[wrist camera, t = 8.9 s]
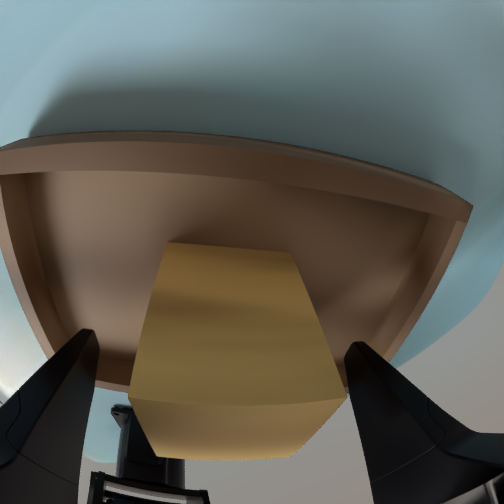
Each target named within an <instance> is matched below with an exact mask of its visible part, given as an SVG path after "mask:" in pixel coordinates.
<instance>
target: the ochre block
mask: <svg viewBox="0 0 504 504" xmlns="http://www.w3.org/2000/svg"><path fill="white" fill-rule="evenodd" d="M346 398H347V394H346V392H345V389H344V386H343V383H342V381H341V378H340V375H339V372H338V370H337V367H336V364H335V362H334V359H333V356H332V354H331V351H330V348H329V346H328V343H327V341H326V338H325V335H324V333H323V330H322V328H321V325H320V323H319V320H318V317H317V315H316V312H315V310H314V307H313V305H312V302H311V300H310V297H309V295H308V293H307V290H306V288H305V285H304V283H303V280H302V278H301V275H300V273H299V271H298V268H297V266H296V264H295V261H294V259H293V256H292V254H291V253H290V252H278V251H267V250H255V249H243V248H232V247H220V246H208V245H196V244H184V243H172V242H167V244H166V247H165V250H164V253H163V257H162V260H161V263H160V266H159V270H158V273H157V276H156V280H155V283H154V287H153V290H152V294H151V297H150V301H149V305H148V308H147V312H146V316H145V320H144V324H143V328H142V332H141V336H140V340H139V344H138V349H137V353H136V358H135V363H134V367H133V372H132V377H131V382H130V387H129V393H128V399H129V401H130V403H131V405H132V408H133V410H134V412H135V414H136V417H137V419H138V421H139V423H140V425H141V427H142V429H143V431H144V433H145V435H146V437H147V439H148V441H149V443H150V445H151V447H152V448H153V450H154V452H155V454H156V456H159V457H168V458H178V459H192V460H256V459H270V458H281V457H289V456H292V455H293V454H294V453H296V452H297V451H298V450H299V449H300V448H301V447H302V445H304V444H305V443H306V442H307V441H308V440H309V439H310V438H311V437H312V436H313V435H314V434H315V433H316V432H317V431H318V430H319V429H320V428H321V427H322V425H323V424H324V423H325V422H326V421H327V420H328V419H329V418H330V417H331V416H332V415H333V413H334V412H335V411H336V410H337V409H338V408H339V407H340V405H341V404H342V403H343V402H344V401H345V400H346Z"/></svg>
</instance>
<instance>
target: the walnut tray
mask: <svg viewBox="0 0 504 504" xmlns="http://www.w3.org/2000/svg"><path fill="white" fill-rule="evenodd" d="M472 209H473V205H471V204H470V203H468V202H467V201H465V200H464V199H462V198H460V197H459V196H457V195H456V194H454V193H452V192H451V191H449V190H447V189H446V188H444V187H442V186H440V185H438V184H436V183H433V182H430V181H427V180H424V179H422V178H419V177H416V176H413V175H410V174H406V173H403V172H400V171H397V170H394V169H390V168H387V167H384V166H380V165H377V164H373V163H369V162H366V161H362V160H358V159H354V158H350V157H346V156H342V155H338V154H333V153H329V152H324V151H320V150H315V149H310V148H305V147H300V146H294V145H288V144H283V143H277V142H270V141H264V140H257V139H249V138H242V137H233V136H224V135H214V134H202V133H189V132H170V131H97V132H80V133H67V134H56V135H47V136H39V137H32V138H25V139H20V140H18V141H15V142H12V143H10V144H7V145H5V146H2V147H0V247H1V251H2V254H3V257H4V261H5V264H6V267H7V270H8V273H9V276H10V279H11V281H12V284H13V287H14V289H15V292H16V294H17V297H18V299H19V302H20V304H21V307H22V309H23V311H24V313H25V316H26V318H27V320H28V322H29V324H30V326H31V328H32V330H33V332H34V334H35V336H36V338H37V340H38V342H39V344H40V346H41V348H42V350H43V351H44V353H45V355H46V357H47V358H48V360H49V359H50V358H51V357H52V356H53V355H54V354H55V353H56V352H57V351H58V350H59V349H60V348H61V347H62V346H63V345H65V344H66V343H67V342H68V341H69V340H70V339H71V338H72V337H73V336H74V335H75V334H76V333H78V332H79V331H80V330H81V329H83V328H88V329H93V330H94V331H95V333H96V336H97V339H98V342H99V345H100V353H99V360H98V366H97V373H96V381H95V387H99V388H104V389H109V390H114V391H119V392H125V393H129V387H130V382H131V377H132V372H133V367H134V363H135V358H136V353H137V349H138V344H139V340H140V336H141V332H142V328H143V324H144V320H145V316H146V312H147V308H148V305H149V301H150V297H151V294H152V290H153V287H154V283H155V280H156V276H157V273H158V270H159V266H160V263H161V260H162V257H163V253H164V250H165V247H166V244H167V242H172V243H184V244H196V245H208V246H220V247H232V248H243V249H255V250H267V251H278V252H290V253H291V254H292V256H293V259H294V261H295V264H296V266H297V268H298V271H299V273H300V275H301V278H302V280H303V283H304V285H305V288H306V290H307V293H308V295H309V297H310V300H311V302H312V305H313V307H314V310H315V312H316V315H317V317H318V320H319V323H320V325H321V328H322V330H323V333H324V335H325V338H326V341H327V343H328V346H329V348H330V351H331V354H332V356H333V359H334V362H335V364H336V367H337V370H338V372H339V375H340V378H341V381H342V383H343V386H344V389H345V392H346V393H349V389H348V383H347V377H346V370H345V364H344V356H345V354H346V352H347V350H348V349H349V347H350V345H351V344H352V342H354V341H364V342H365V343H366V344H368V345H369V346H370V347H371V348H372V349H373V350H374V351H376V352H377V353H378V354H379V355H380V356H381V357H383V358H384V359H385V360H386V361H387V362H388V363H389V361H390V360H391V359H392V357H393V356H394V355H395V353H396V352H397V350H398V349H399V348H400V346H401V345H402V343H403V342H404V340H405V339H406V337H407V336H408V334H409V333H410V331H411V330H412V328H413V327H414V325H415V324H416V322H417V321H418V319H419V317H420V316H421V314H422V312H423V311H424V309H425V307H426V306H427V304H428V302H429V301H430V299H431V297H432V295H433V294H434V292H435V290H436V288H437V286H438V285H439V283H440V281H441V279H442V277H443V275H444V273H445V271H446V269H447V267H448V265H449V263H450V261H451V259H452V257H453V255H454V252H455V250H456V248H457V246H458V244H459V241H460V239H461V237H462V234H463V232H464V229H465V227H466V225H467V222H468V219H469V217H470V214H471V211H472Z"/></svg>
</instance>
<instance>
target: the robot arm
mask: <svg viewBox="0 0 504 504" xmlns="http://www.w3.org/2000/svg"><path fill="white" fill-rule="evenodd" d="M99 353H100V345H99V342H98V339H97V336H96V333H95V331H94V330H93V329H88V328H83V329H81V330H80V331H79V332H78V333H76V334H75V335H74V336H73V337H72V338H71V339H70V340H69V341H68V342H67V343H66V344H65V345H63V346H62V347H61V348H60V349H59V350H58V351H57V352H56V353H55V354H54V355H53V356H52V357H51V358H50V359H49V360H48V361H47V362H45V363H44V364H43V365H42V366H41V367H40V368H39V369H38V370H37V371H36V372H35V373H34V374H33V375H32V376H31V377H30V378H29V379H28V380H27V381H26V382H25V383H24V384H23V385H22V386H21V387H20V388H19V390H17V391H16V392H15V393H14V394H13V395H12V396H11V397H10V398H9V399H8V400H7V401H6V402H5V403H4V404H3V405H2V406H1V407H0V504H77V503H78V486H79V476H80V467H81V459H82V452H83V445H84V439H85V433H86V427H87V422H88V417H89V412H90V407H91V403H92V398H93V394H94V389H95V381H96V373H97V366H98V360H99ZM344 364H345V370H346V377H347V383H348V389H349V395H350V399H351V403H352V407H353V411H354V415H355V418H356V422H357V426H358V431H359V435H360V439H361V443H362V447H363V452H364V456H365V461H366V465H367V470H368V475H369V480H370V485H371V490H372V496H373V501H374V504H504V433H479V432H475V431H473V430H470V429H469V428H467V427H466V426H464V425H463V424H462V423H460V422H459V421H457V420H456V419H455V418H453V417H452V416H451V415H449V414H448V413H446V412H445V411H444V410H442V409H441V408H440V407H439V406H438V405H437V404H435V403H434V402H433V401H432V400H431V399H430V398H428V397H427V396H426V395H425V394H424V393H423V392H422V391H420V390H419V389H418V388H417V387H416V386H415V385H414V384H412V383H411V382H410V381H409V380H408V379H407V378H405V377H404V376H403V375H402V374H401V373H400V372H399V371H397V370H396V369H395V368H394V367H393V366H392V365H391V364H389V363H388V362H387V361H386V360H385V359H384V358H383V357H381V356H380V355H379V354H378V353H377V352H376V351H374V350H373V349H372V348H371V347H370V346H369V345H368V344H366V343H365V342H364V341H354V342H352V344H351V345H350V347H349V349H348V350H347V352H346V354H345V356H344ZM111 414H112V416H113V417H114V419H115V420H116V422H117V424H118V425H119V427H120V428H121V433H120V440H119V448H118V457H117V467H116V477H115V476H111V475H108V474H105V473H104V472H101V471H99V472H91V479H90V487H89V494H88V501H87V504H179V503H170V502H162V501H155V500H150V499H144V498H139V497H134V496H129V495H124V494H120V493H116V492H112V491H108V490H106V486H109V487H113V488H117V489H122V490H126V491H130V492H135V493H140V494H145V495H150V496H157V497H163V498H171V499H179V500H187V503H186V504H210V501H209V496H208V491H207V490H188V489H185V459H178V458H168V457H159V456H156V454H155V452H154V450H153V448H152V447H151V445H150V443H149V441H148V439H147V437H146V435H145V433H144V431H143V429H142V427H141V425H140V423H139V421H138V419H137V417H136V414H135V412H134V411H132V410H126V409H121V408H115V407H113V408H111ZM105 500H106V502H105Z"/></svg>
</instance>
